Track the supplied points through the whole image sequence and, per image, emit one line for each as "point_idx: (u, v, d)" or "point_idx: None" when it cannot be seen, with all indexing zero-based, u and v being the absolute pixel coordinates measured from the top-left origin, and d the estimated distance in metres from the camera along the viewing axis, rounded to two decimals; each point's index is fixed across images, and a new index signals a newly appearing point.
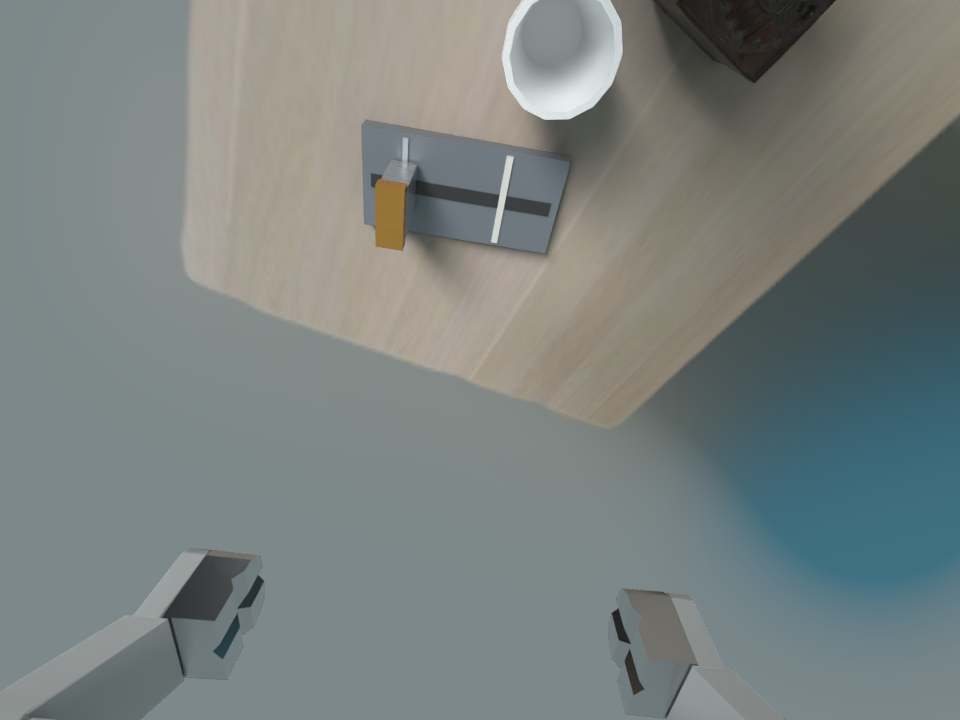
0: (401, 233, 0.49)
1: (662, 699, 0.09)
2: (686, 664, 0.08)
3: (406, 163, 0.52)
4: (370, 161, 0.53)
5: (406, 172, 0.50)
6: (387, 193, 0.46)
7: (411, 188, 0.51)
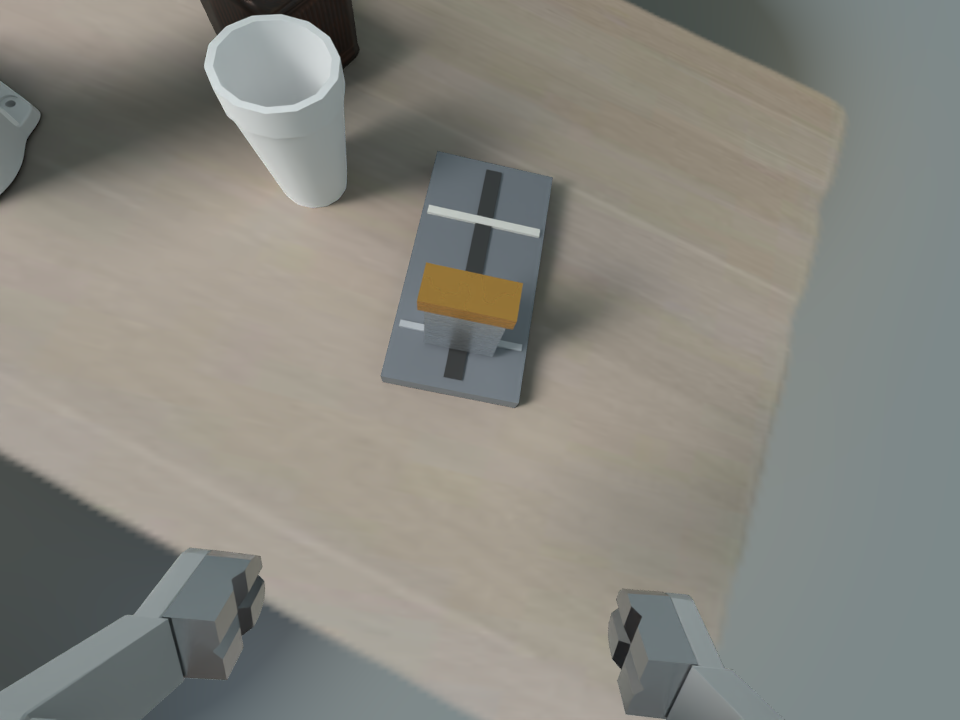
0: (493, 279, 0.32)
1: (662, 699, 0.09)
2: (686, 664, 0.08)
3: None
4: (427, 374, 0.39)
5: None
6: (430, 286, 0.31)
7: None
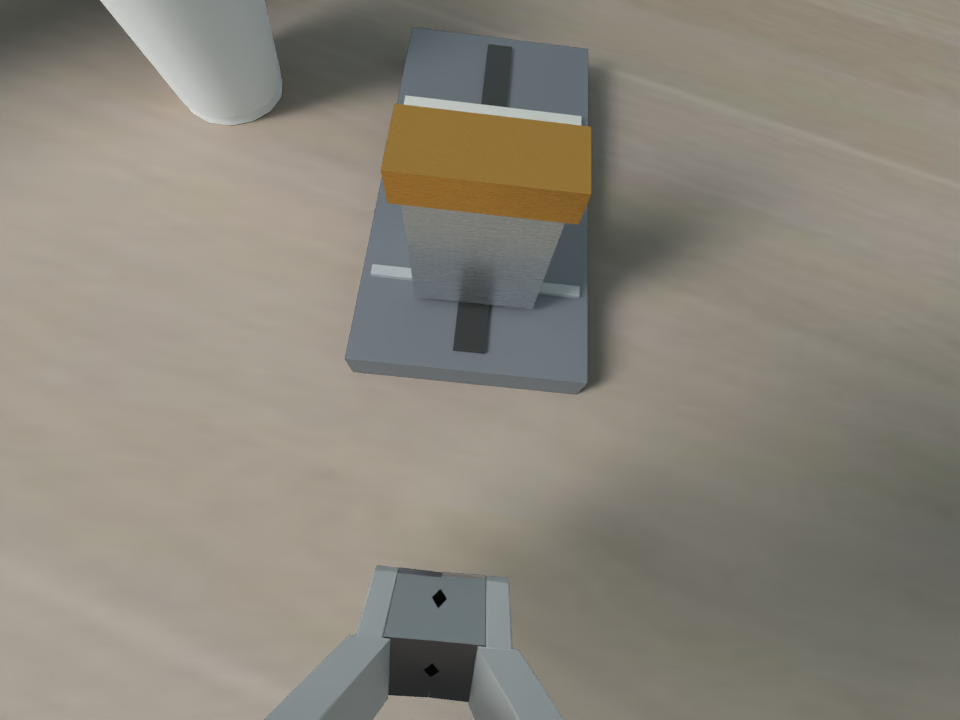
0: (532, 123, 0.16)
1: (460, 682, 0.09)
2: (474, 645, 0.08)
3: None
4: (425, 348, 0.22)
5: None
6: (406, 143, 0.15)
7: None
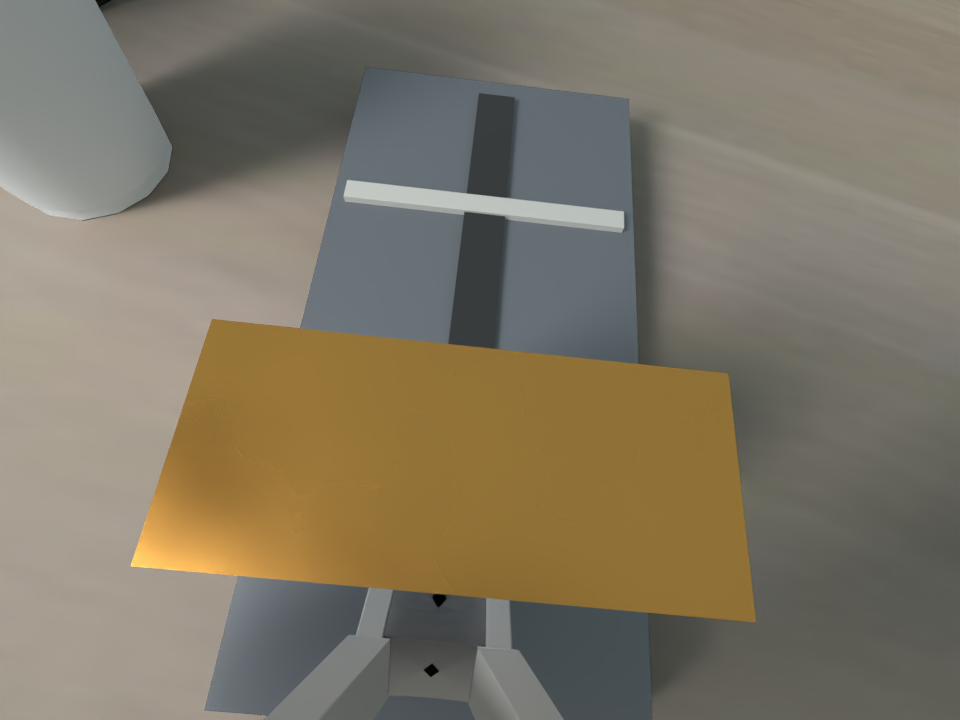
0: (577, 370, 0.06)
1: (460, 681, 0.09)
2: (474, 645, 0.08)
3: None
4: None
5: None
6: (224, 455, 0.05)
7: None
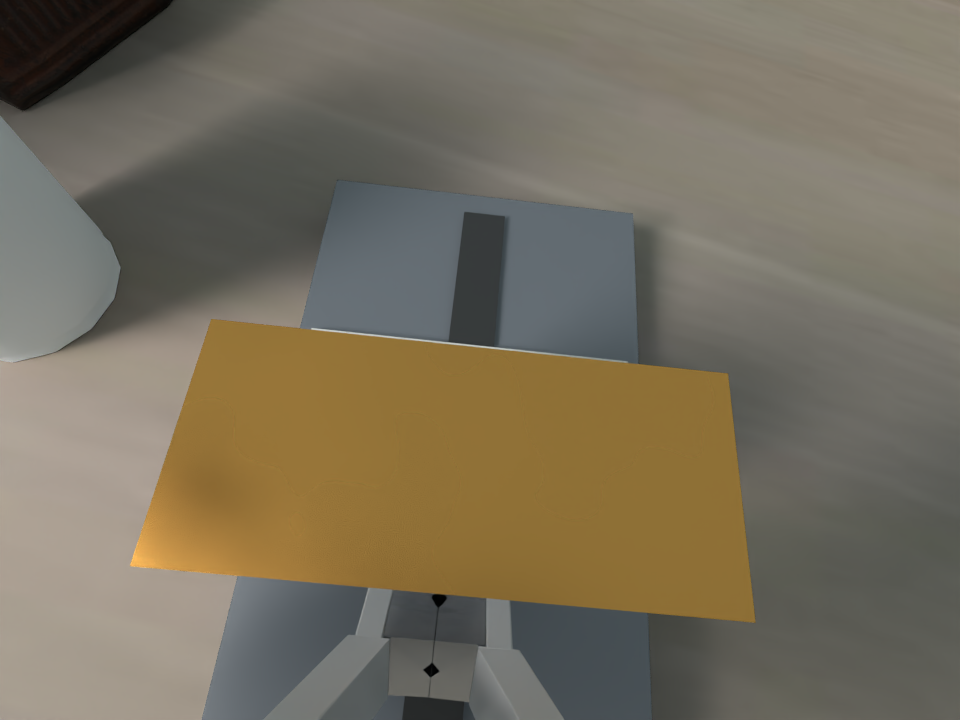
0: (576, 370, 0.06)
1: (460, 681, 0.09)
2: (474, 645, 0.08)
3: None
4: None
5: None
6: (223, 455, 0.05)
7: None
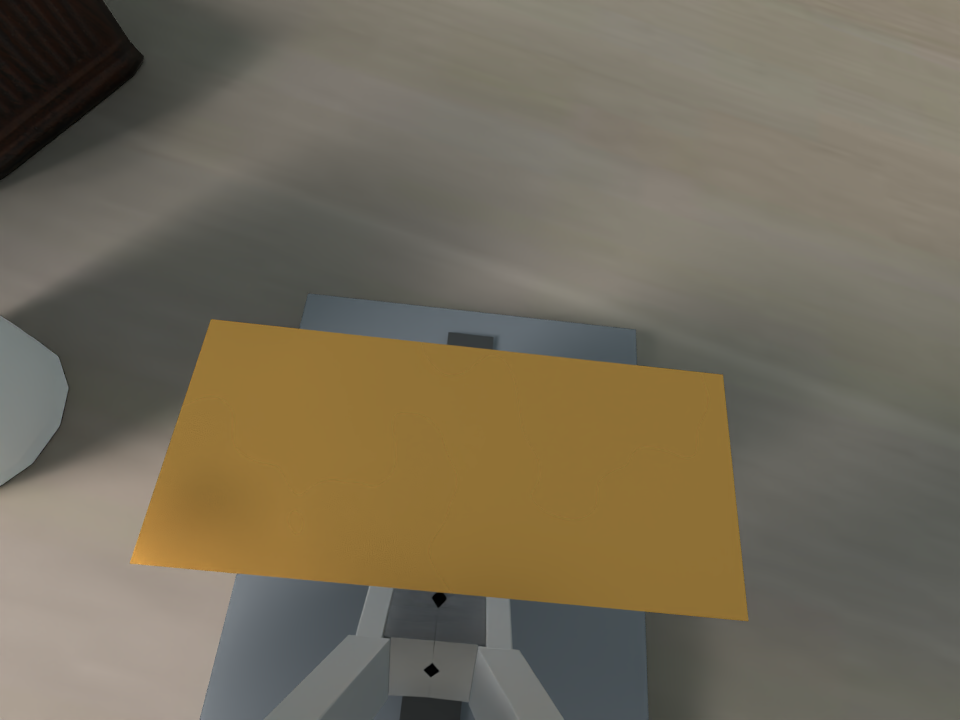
0: (572, 370, 0.06)
1: (460, 682, 0.09)
2: (474, 645, 0.08)
3: None
4: None
5: None
6: (223, 454, 0.05)
7: None
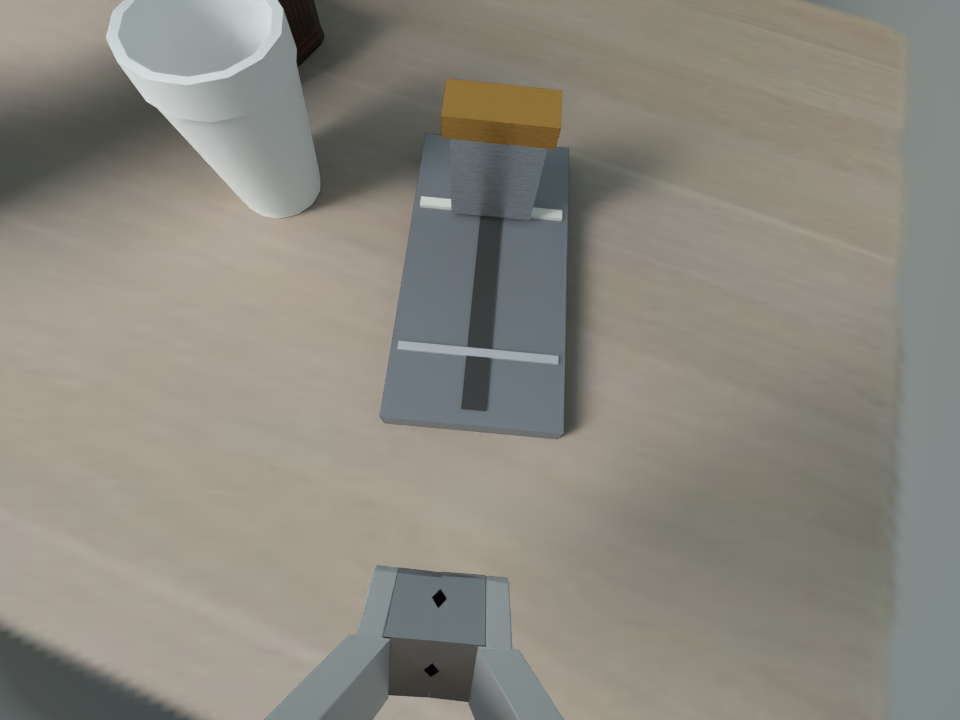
0: (527, 89, 0.27)
1: (460, 682, 0.09)
2: (474, 645, 0.08)
3: None
4: (440, 408, 0.30)
5: None
6: (454, 100, 0.27)
7: None
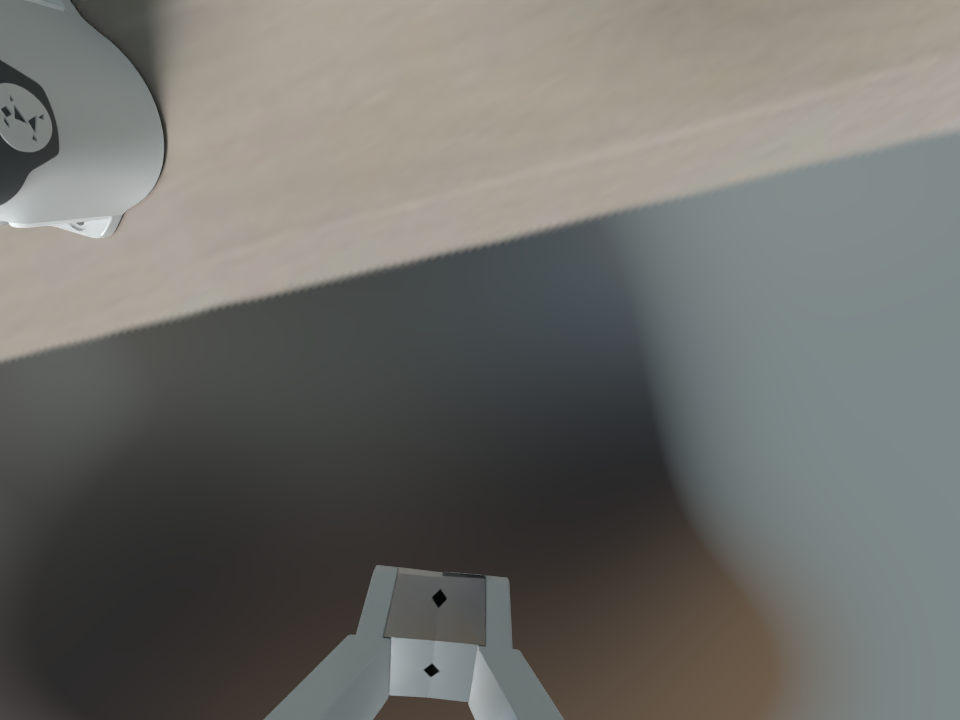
0: None
1: (460, 682, 0.09)
2: (474, 645, 0.08)
3: None
4: None
5: None
6: None
7: None
